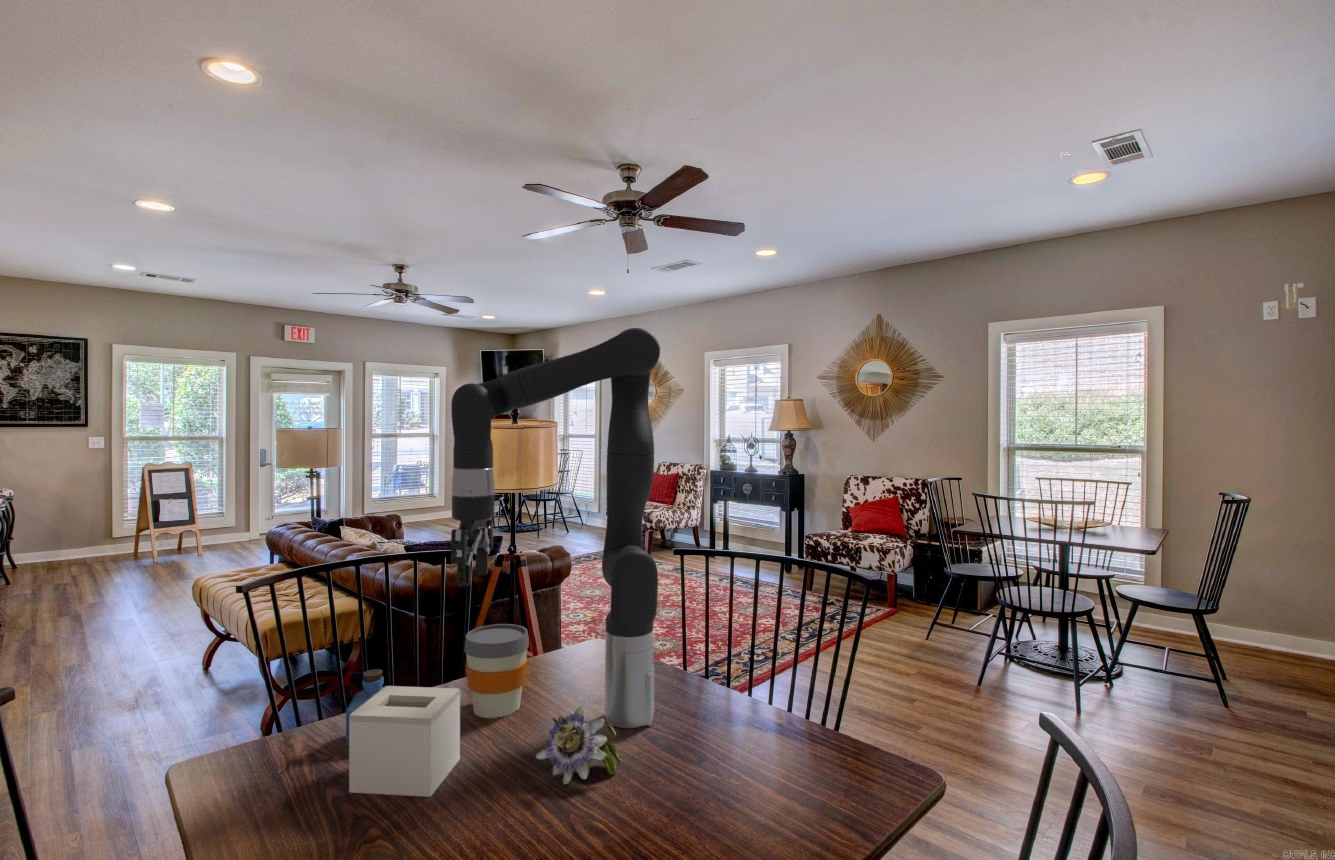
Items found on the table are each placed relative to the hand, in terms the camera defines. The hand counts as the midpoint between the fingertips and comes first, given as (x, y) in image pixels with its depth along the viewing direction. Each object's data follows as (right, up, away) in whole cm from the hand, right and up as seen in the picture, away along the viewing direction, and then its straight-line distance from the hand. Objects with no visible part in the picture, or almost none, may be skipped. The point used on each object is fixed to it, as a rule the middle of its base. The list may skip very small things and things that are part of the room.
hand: (473, 580), depth 117 cm
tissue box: (-6, -28, -14) cm, 32 cm away
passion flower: (+21, -29, -13) cm, 38 cm away
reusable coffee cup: (+2, -28, +10) cm, 30 cm away
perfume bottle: (-17, -28, -2) cm, 33 cm away
